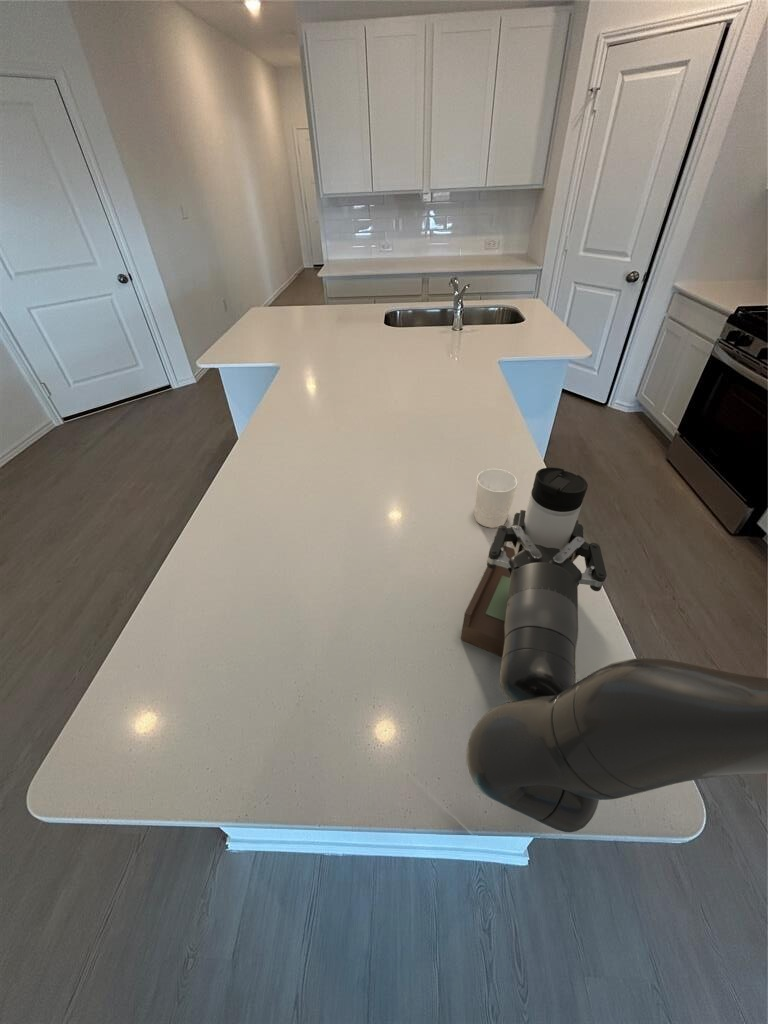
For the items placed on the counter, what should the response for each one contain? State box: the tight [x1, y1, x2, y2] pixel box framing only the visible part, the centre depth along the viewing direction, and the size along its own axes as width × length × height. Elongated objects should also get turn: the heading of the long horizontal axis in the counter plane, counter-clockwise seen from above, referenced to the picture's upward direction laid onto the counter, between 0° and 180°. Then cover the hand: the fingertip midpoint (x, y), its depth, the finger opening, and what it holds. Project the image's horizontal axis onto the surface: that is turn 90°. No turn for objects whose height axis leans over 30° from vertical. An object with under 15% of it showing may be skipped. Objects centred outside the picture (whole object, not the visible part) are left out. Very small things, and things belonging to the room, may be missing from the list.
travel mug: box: [510, 466, 589, 579], centre depth 60 cm, size 6×7×20 cm
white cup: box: [474, 468, 518, 529], centre depth 90 cm, size 8×8×10 cm
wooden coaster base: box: [460, 542, 515, 658], centre depth 73 cm, size 12×20×7 cm, turn 152°
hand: (547, 519), depth 61 cm, fingers closed on travel mug, 6 cm apart
